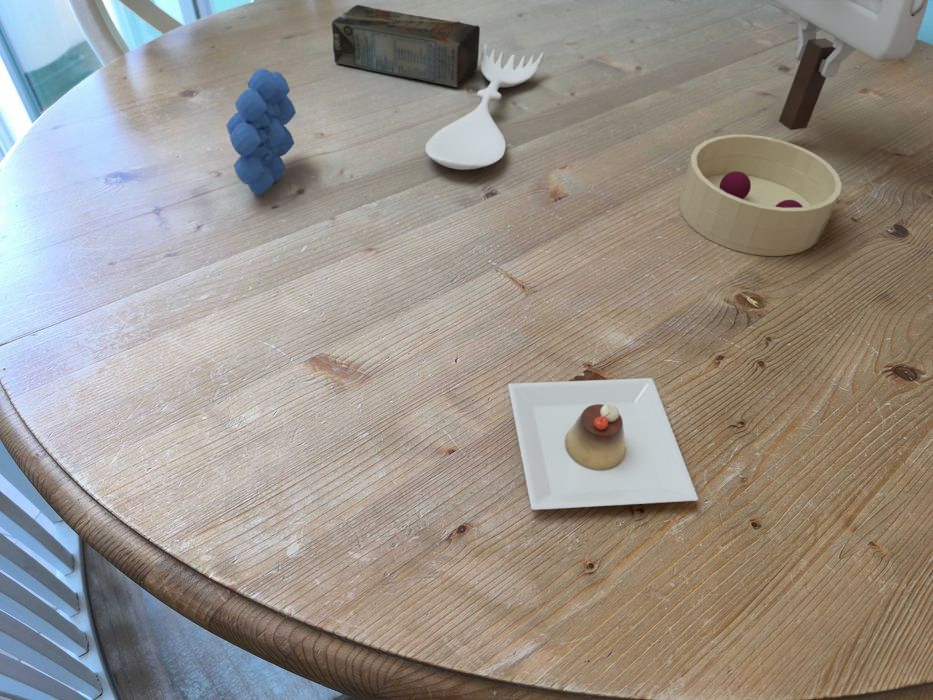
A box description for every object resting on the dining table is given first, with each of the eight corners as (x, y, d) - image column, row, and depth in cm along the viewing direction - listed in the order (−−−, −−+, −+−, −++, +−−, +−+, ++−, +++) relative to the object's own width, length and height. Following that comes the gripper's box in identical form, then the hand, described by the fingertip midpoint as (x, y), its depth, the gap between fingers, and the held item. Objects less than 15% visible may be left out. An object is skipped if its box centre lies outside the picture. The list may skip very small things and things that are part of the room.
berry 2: (785, 217, 80) (796, 191, 78) (805, 234, 78) (816, 208, 76) (761, 222, 79) (770, 196, 77) (779, 239, 77) (790, 213, 75)
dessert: (529, 518, 52) (537, 477, 49) (506, 392, 61) (511, 350, 58) (694, 509, 54) (713, 468, 50) (649, 387, 62) (662, 345, 59)
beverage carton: (358, 44, 110) (355, -3, 105) (480, 69, 106) (483, 21, 101) (332, 64, 105) (328, 16, 100) (460, 92, 100) (462, 42, 96)
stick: (794, 119, 93) (825, 37, 86) (806, 128, 91) (839, 46, 84) (778, 121, 92) (808, 39, 85) (790, 130, 91) (821, 48, 84)
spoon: (544, 73, 106) (547, 49, 103) (492, 189, 83) (494, 161, 81) (482, 64, 107) (483, 39, 105) (414, 175, 84) (414, 148, 82)
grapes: (259, 149, 87) (242, 46, 79) (313, 159, 86) (302, 55, 78) (210, 202, 79) (185, 93, 71) (270, 213, 78) (252, 104, 70)
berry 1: (736, 177, 83) (760, 174, 81) (730, 205, 83) (753, 204, 81) (716, 169, 82) (739, 166, 79) (710, 198, 82) (733, 196, 79)
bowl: (764, 169, 89) (780, 126, 85) (852, 242, 79) (874, 197, 75) (653, 188, 85) (664, 144, 81) (730, 267, 75) (746, 221, 71)
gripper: (966, -33, 71) (900, 104, 81) (824, -92, 85) (783, 32, 94) (914, -29, 69) (853, 111, 79) (778, -90, 83) (741, 36, 93)
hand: (814, 67), depth 87 cm, fingers closed on stick, 2 cm apart
